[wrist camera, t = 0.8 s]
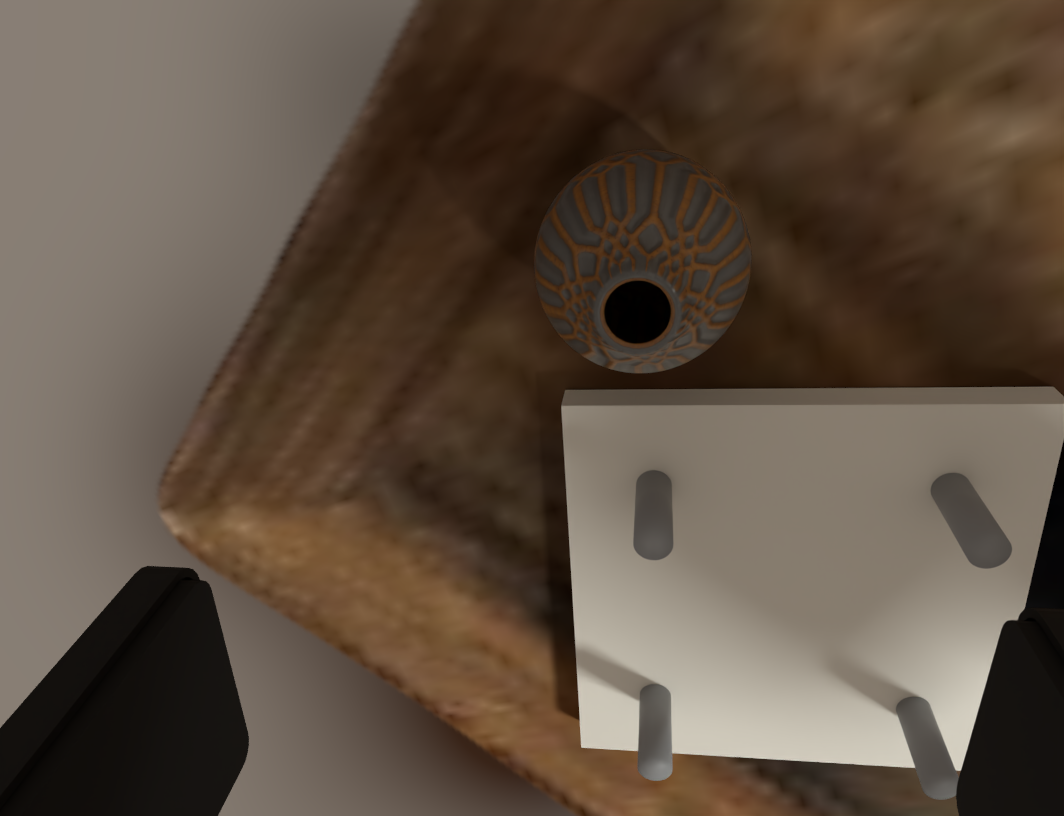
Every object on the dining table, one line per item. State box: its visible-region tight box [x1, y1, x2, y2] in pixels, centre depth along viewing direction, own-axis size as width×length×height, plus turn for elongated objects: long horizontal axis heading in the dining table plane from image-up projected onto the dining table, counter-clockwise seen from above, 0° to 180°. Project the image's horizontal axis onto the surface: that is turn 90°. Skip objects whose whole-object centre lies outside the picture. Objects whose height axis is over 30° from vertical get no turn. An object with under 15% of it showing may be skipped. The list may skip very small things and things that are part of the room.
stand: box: [561, 387, 1064, 799], centre depth 33 cm, size 18×18×6 cm
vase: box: [534, 149, 752, 373], centre depth 26 cm, size 7×7×9 cm
